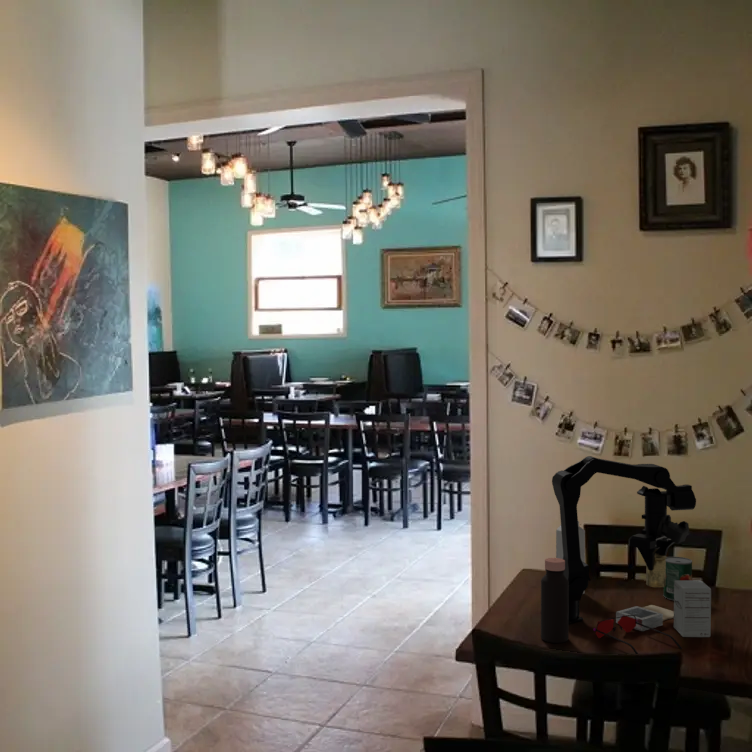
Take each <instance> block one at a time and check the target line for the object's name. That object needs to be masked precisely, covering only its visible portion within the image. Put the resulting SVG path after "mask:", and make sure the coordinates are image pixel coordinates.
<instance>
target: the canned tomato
mask: <svg viewBox="0 0 752 752" xmlns="http://www.w3.org/2000/svg"><path fill="white" fill-rule="evenodd" d="M676 580H693V560H692V559H690V558H687V557H682V556H666V586H665V587H662V588H663V589H662V590H663V594H662V597H663V596H664V597H665V598H664V597H663V598H664V599H666V598H667V600H669V601H673V602H674V581H676Z"/></svg>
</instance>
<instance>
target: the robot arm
mask: <svg viewBox="0 0 752 752" xmlns="http://www.w3.org/2000/svg"><path fill="white" fill-rule="evenodd" d="M597 473H598V474H603V475H609V476H615V477H620V478H621V477H622V478H626V479H632V480H636V481H638V482H642V483H644V484H647V485H649V486H652V487H654V488H649V487H648V486H646V485H642V487H641V488H640V489H639V490H638V491H636V494H637V495H639V496H641V497H644V514H641V520H644V528H643V529H641V533H637V534H633V535H631V536H630V537H629V538H628V546H629V547H634V548H636V549H637V550H638V552H639V553H640V555H641V557H642V558H643V559H642V560H643V561H644V563H645V566H646V565H647V567H648V569H649V570H651V571H652V570H653V567H654V559H655V553H658V554H664V555H666V556H667V555H668V552H669V549H670V547H671V546H672V545H673V544H680V543H683V542H685V541H686V538H687V536H689V535H690V534H691V532H690V525H689V523H688V522H687V521H680V522H679V523H678V522H673V521H672V517H671V515H670V514H668V509H667V508H669V509H670V511H691V510H692V511H693V510H694V509H695V507H696V506H697V498H696V496H695V492H694V491H693V485H691V484H682V485H681V484H680V485H676V484H675V482H674V481H673V480H672V478H671V474H670V471H669V469H668V468H666V467H663V466H662V465H661V466H660V465H657V464H654V463H638V464H636V463H635V464H631V463H626V462H620V461H614V460H609V459H603V458H599V457H598V458H597V457H594V456H592V455H588V456H587V455H586V456H585V457H584V458H582V459H581V460H579V461H578V462H576V463H574V464H571V465H570V466H568V467H566V468H565V469H563V470H559V471H557V472H555V474H554V475H553V476H552V478H551V484H552V488H553V492H554V493H553V494H554V495H555V497H556V500H557V503H558V505H559V514H560V515H559V516H560V525H561V531H562V544H563V560H565V571H564V576H565V577H566V578H567V579H568V581H569V624H572V623H573V624H574V623H576V622H579V621H583V620H584V617H582V616H580V601H581V599H582V597H583V595H584V594H583V592H584V591H585V592H586V589H588V588H589V582H591V578H590V565H588V563H586V562H585V563H584V562H583V561H582V560H581V556H580V543H579V529H578V521H579V519H578V504H579V501H580V497H581V489H582V487H583V486H584V485H586V484H587V483H588V482H589V481H590V480H591V478H592V477H593V476H594V475H595V474H597ZM660 489H663V490H664V491H662V490H660Z"/></svg>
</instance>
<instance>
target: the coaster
mask: <svg viewBox="0 0 752 752" xmlns="http://www.w3.org/2000/svg"><path fill="white" fill-rule="evenodd" d="M641 608H645V609H648V610H651V611H655V612H658V613H661V614H663V622H664V621H667V620H671V619H674V610H671V609H667V608H664V607H661V606H658V605H654V604H649V605H646V606H642V607H641Z"/></svg>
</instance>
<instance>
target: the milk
mask: <svg viewBox="0 0 752 752" xmlns="http://www.w3.org/2000/svg"><path fill="white" fill-rule="evenodd" d="M578 529H579V543H580V556H581V560H582V561H583V562H584V563H586V561H585V560H586V556H585V555H586V548H585V547H586V530H585V529H584V528H582V527H581V526H580V521H579V520H578ZM555 533H556V537H555V544H556V545H555V558H560V559H563V544H562V531H561V524H560V525H559V526H558V527H557V528H556V531H555ZM585 592H586V590H585V591H584V592H583V594H582V595H584V594H585Z"/></svg>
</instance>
